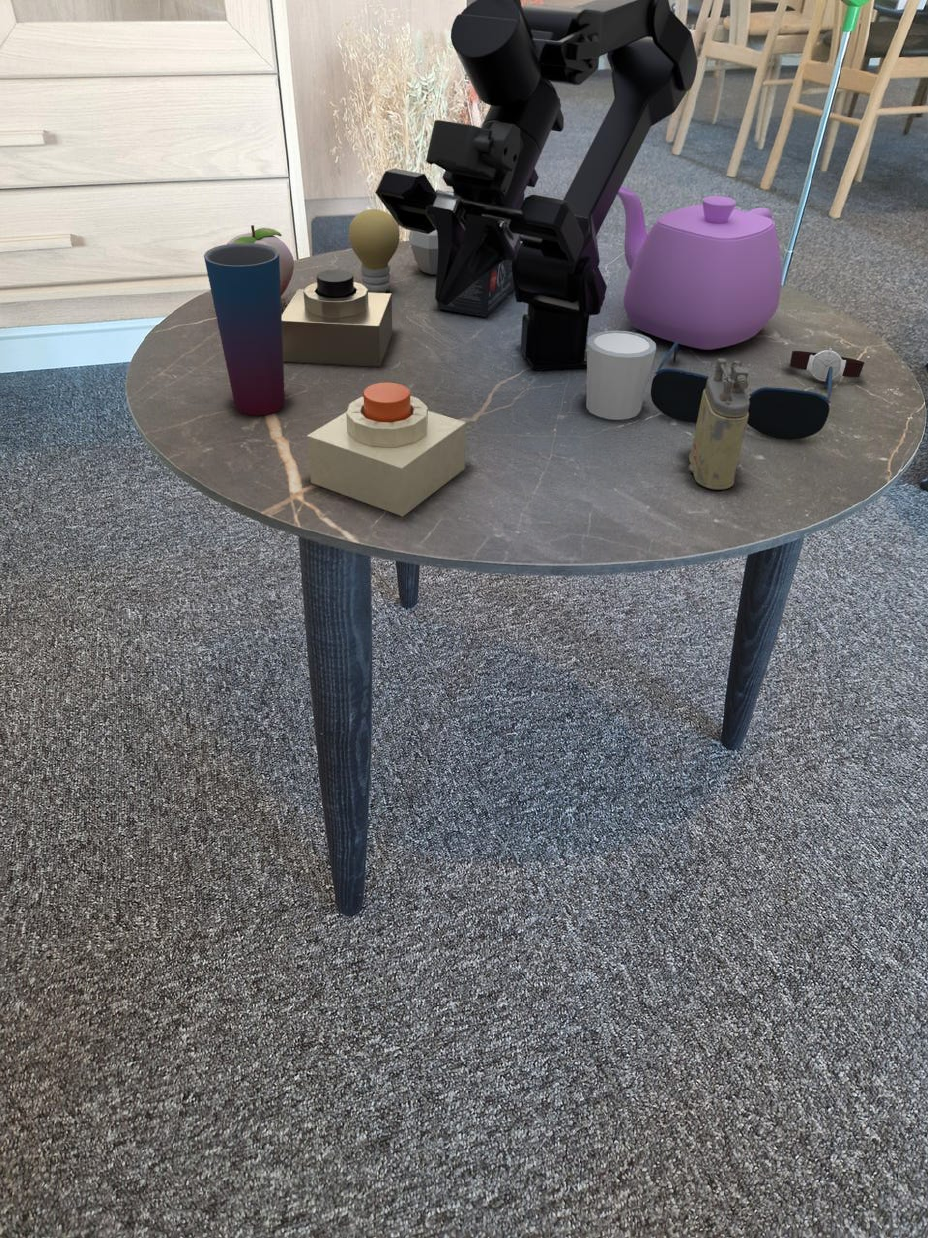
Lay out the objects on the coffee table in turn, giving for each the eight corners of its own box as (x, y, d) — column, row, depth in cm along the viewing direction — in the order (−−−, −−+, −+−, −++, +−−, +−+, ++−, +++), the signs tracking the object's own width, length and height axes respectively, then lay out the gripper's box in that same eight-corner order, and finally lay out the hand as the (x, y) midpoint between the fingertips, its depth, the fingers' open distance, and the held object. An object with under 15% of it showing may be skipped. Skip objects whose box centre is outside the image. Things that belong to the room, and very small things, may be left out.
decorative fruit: (249, 292, 120) (239, 210, 114) (306, 301, 118) (299, 218, 112) (210, 316, 113) (197, 231, 107) (270, 326, 111) (261, 240, 105)
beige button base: (392, 332, 111) (391, 277, 107) (380, 367, 103) (378, 309, 99) (301, 327, 111) (296, 272, 107) (282, 361, 103) (276, 303, 99)
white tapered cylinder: (604, 427, 93) (613, 360, 88) (567, 400, 98) (573, 335, 93) (659, 414, 95) (671, 349, 91) (621, 388, 100) (630, 324, 96)
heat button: (356, 288, 105) (356, 270, 103) (350, 301, 102) (349, 282, 100) (321, 286, 105) (320, 268, 104) (314, 299, 102) (313, 280, 100)
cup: (279, 423, 92) (263, 268, 82) (215, 415, 93) (191, 261, 83) (302, 394, 97) (289, 245, 88) (241, 387, 98) (221, 239, 89)
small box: (487, 319, 115) (491, 217, 107) (435, 310, 117) (436, 209, 109) (519, 285, 125) (525, 190, 117) (471, 278, 126) (474, 183, 119)
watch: (785, 377, 103) (793, 346, 101) (789, 361, 107) (797, 330, 105) (858, 389, 101) (868, 357, 99) (859, 372, 105) (869, 341, 103)
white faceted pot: (456, 283, 125) (458, 232, 121) (400, 277, 126) (399, 226, 122) (470, 264, 131) (471, 215, 127) (416, 258, 132) (416, 210, 128)
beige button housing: (377, 439, 90) (374, 375, 86) (465, 468, 86) (466, 403, 82) (310, 482, 83) (304, 416, 79) (402, 517, 79) (401, 448, 75)
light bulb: (342, 294, 120) (338, 212, 114) (365, 279, 125) (362, 200, 119) (387, 302, 118) (385, 219, 112) (408, 286, 123) (407, 206, 117)
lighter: (736, 492, 84) (761, 388, 77) (693, 490, 84) (715, 386, 77) (722, 453, 89) (744, 353, 83) (683, 451, 89) (702, 351, 83)
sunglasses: (645, 414, 95) (654, 366, 93) (668, 377, 107) (676, 333, 105) (819, 446, 91) (833, 396, 88) (823, 403, 103) (836, 358, 100)
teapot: (805, 322, 117) (839, 193, 107) (717, 369, 104) (746, 230, 95) (654, 276, 129) (672, 158, 119) (559, 315, 116) (570, 186, 107)
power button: (382, 399, 83) (381, 378, 81) (419, 411, 81) (419, 389, 80) (354, 416, 80) (353, 394, 79) (392, 429, 78) (392, 406, 77)
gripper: (384, 64, 79) (310, 231, 78) (583, 90, 71) (503, 275, 70) (435, 149, 89) (370, 298, 88) (613, 180, 81) (543, 343, 81)
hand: (440, 302), depth 82 cm, fingers closed
